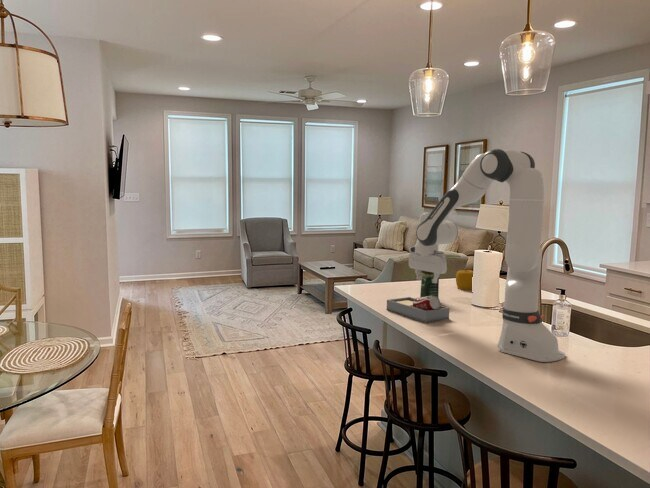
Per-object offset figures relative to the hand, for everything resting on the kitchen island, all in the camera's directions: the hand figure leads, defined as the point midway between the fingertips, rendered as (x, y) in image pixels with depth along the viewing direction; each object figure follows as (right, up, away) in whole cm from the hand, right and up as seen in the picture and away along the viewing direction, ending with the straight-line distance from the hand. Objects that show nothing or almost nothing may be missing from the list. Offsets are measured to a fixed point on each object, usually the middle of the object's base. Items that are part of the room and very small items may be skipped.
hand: (426, 281), depth 213 cm
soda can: (-3, -11, +6) cm, 13 cm away
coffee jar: (+8, -13, +31) cm, 34 cm away
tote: (-3, -15, +6) cm, 17 cm away
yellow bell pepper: (+34, -11, +60) cm, 70 cm away
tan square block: (-7, -14, +12) cm, 19 cm away
